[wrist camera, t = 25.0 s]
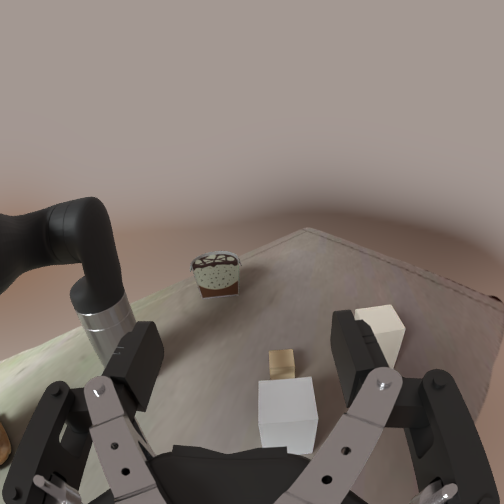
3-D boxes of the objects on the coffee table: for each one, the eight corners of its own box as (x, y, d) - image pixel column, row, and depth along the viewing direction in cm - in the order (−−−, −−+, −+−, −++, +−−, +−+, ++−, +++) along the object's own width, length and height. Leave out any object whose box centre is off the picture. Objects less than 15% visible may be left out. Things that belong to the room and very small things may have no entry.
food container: (244, 282, 76) (239, 247, 72) (245, 294, 70) (240, 258, 66) (198, 287, 76) (191, 253, 71) (196, 299, 70) (188, 264, 66)
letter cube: (270, 382, 44) (269, 367, 43) (270, 365, 48) (268, 350, 46) (294, 381, 44) (294, 365, 42) (292, 363, 48) (292, 348, 46)
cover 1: (264, 456, 31) (258, 423, 27) (263, 420, 37) (258, 380, 33) (312, 453, 31) (318, 418, 27) (307, 416, 37) (311, 376, 33)
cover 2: (357, 378, 42) (367, 335, 38) (349, 352, 48) (355, 309, 44) (392, 371, 42) (405, 328, 38) (381, 347, 48) (391, 304, 44)
